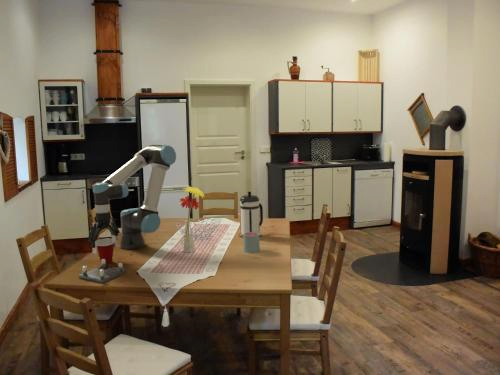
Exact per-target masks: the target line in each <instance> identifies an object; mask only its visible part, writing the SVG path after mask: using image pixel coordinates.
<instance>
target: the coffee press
mask: <svg viewBox="0 0 500 375" xmlns="http://www.w3.org/2000/svg"><path fill="white" fill-rule="evenodd" d="M239 203H240V204H239V209H240V210H239V212H240V213H239V214H240V215H239V218H240V219H239V220H240V233H239V234H238V236H239V238H242V236H243V234H244V233H246V232H257V233H259V237H262V233H261V229H260V227H261V226H262V224H263V222H264V221H263V220H264V212H263V211H264V210H263V204H261V202H260V198H259V196H258V195H255V194H252V191H247V194H244V195H242V196H241V197H240V198H239ZM260 234H261V235H260Z"/></svg>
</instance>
